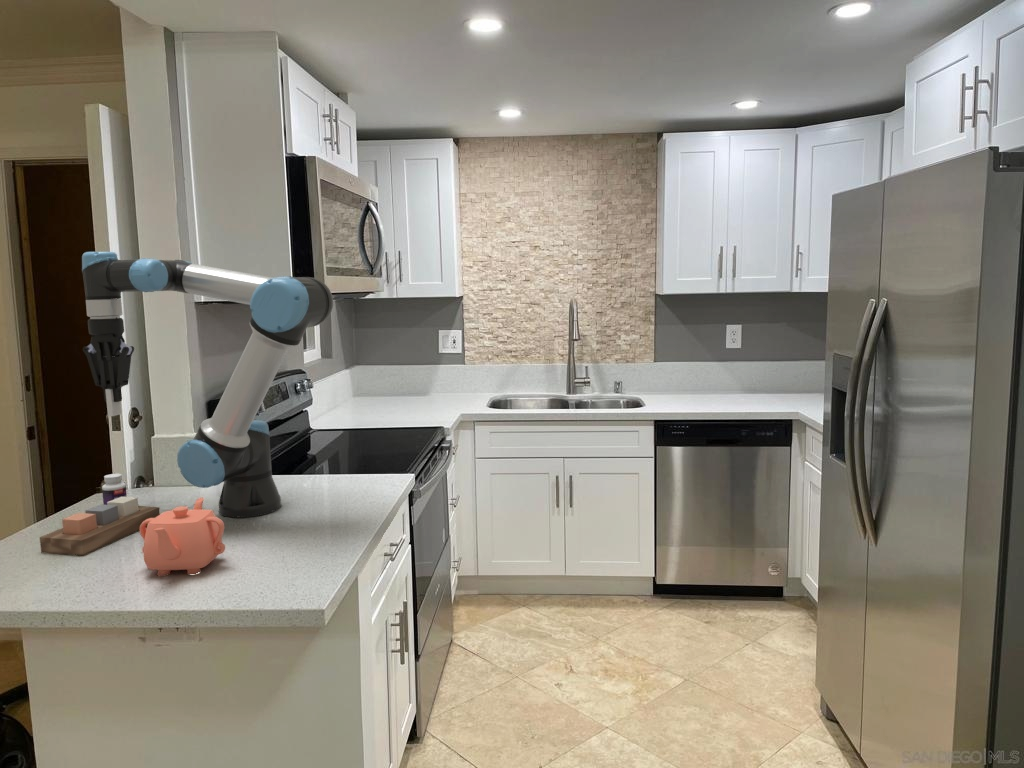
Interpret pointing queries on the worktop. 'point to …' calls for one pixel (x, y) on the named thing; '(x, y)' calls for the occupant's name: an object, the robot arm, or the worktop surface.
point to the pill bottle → (113, 488)
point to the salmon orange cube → (79, 523)
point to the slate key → (104, 513)
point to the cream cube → (125, 505)
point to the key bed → (96, 534)
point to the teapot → (182, 539)
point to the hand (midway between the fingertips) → (114, 414)
